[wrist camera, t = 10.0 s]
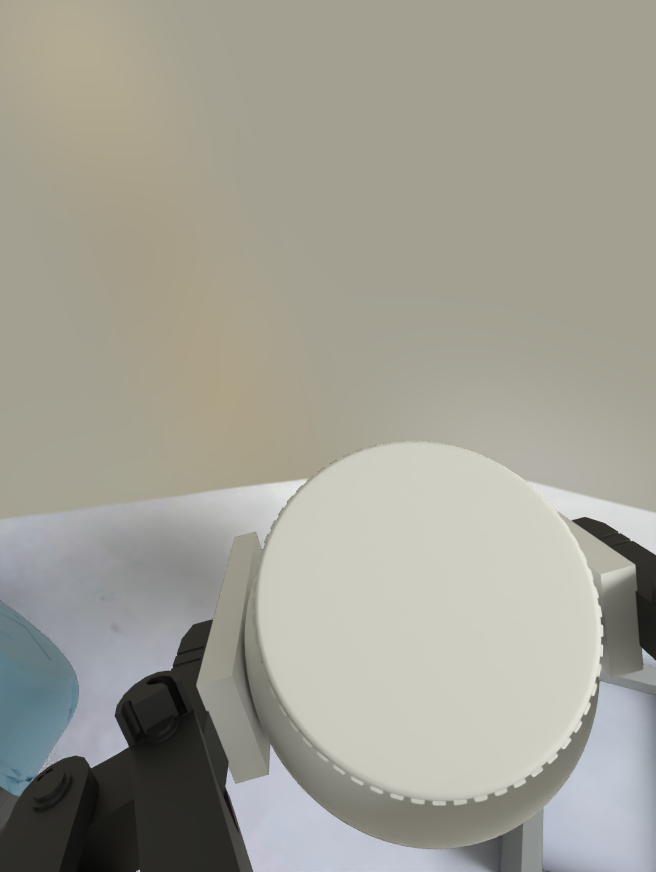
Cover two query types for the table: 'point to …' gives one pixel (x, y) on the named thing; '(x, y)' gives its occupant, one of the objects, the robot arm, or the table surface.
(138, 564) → the table surface
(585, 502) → the table surface
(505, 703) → the pill bottle
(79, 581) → the table surface
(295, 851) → the table surface
